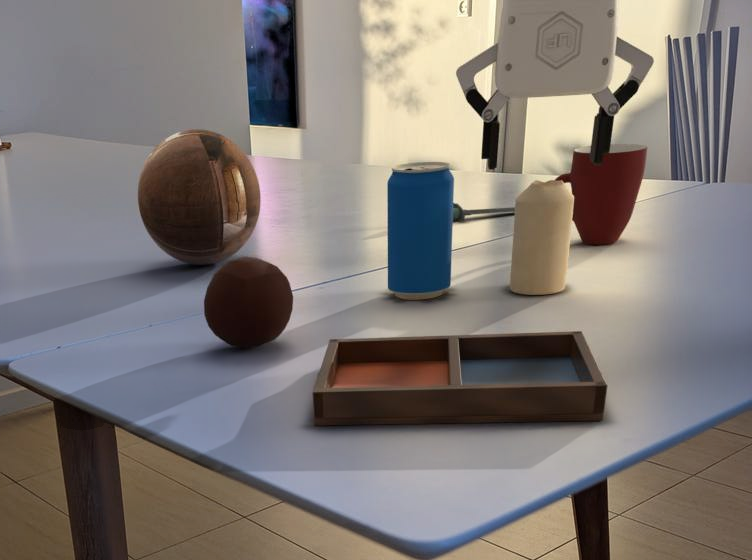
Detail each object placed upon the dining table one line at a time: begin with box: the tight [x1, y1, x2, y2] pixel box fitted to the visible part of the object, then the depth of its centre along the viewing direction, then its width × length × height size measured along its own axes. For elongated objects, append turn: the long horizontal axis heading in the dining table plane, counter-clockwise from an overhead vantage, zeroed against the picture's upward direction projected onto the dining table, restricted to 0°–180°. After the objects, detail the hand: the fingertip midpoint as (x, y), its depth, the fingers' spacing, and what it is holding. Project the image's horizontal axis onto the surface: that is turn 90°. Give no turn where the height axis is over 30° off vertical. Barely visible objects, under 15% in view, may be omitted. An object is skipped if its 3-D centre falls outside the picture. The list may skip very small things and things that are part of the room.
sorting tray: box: [312, 330, 608, 426], centre depth 69 cm, size 20×13×2 cm, turn 82°
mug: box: [554, 143, 648, 246], centre depth 108 cm, size 11×8×10 cm
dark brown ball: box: [203, 256, 294, 349], centre depth 82 cm, size 8×9×8 cm
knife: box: [453, 202, 515, 222], centre depth 129 cm, size 23×2×5 cm
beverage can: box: [386, 161, 455, 301], centre depth 92 cm, size 6×6×12 cm
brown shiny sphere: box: [137, 128, 262, 266], centre depth 112 cm, size 15×15×15 cm
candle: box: [509, 179, 574, 296], centre depth 91 cm, size 6×6×10 cm
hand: (543, 165), depth 88 cm, fingers open, 9 cm apart
